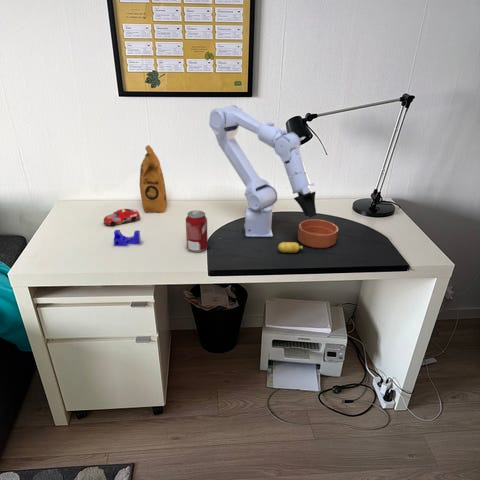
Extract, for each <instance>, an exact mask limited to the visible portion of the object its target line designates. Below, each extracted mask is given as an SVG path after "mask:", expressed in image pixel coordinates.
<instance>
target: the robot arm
mask: <svg viewBox="0 0 480 480" xmlns="http://www.w3.org/2000/svg"><path fill="white" fill-rule="evenodd" d="M208 126H209V127H210V129H211V130H212V131H213V133H214V135H215V138H216V142H217V144H218V146H219V147H220V149H221V150H222V152H223V153H224V155H225V157H226V158H227V159H228V161H229V163H230V165H231V166H232V168H233V169H234V171H235V172H236V174H237V175H238V177H239V178H240V180H241V181H242V183H243V185H244V186H245V187H246V188H245V192H244V196H245V198H246V201H247V205H248V207H246V208H245V213H244V225H243V229H244V235H245V237H247V238H249V237H250V238H273V237H274V234H273V231H272V221H273V208H274V207H275V206H274V205H275V203H277V202H278V199H279V195H278V192H277V190H276V188H275V187H274V186H272V185H271V184H270V183H269V182H268V180H265V179H263V178H261V177H260V176H259V174H258V173H257V171H256V169H255V168H254V166H253V165H252V163H251V162H250V160H249V159H248V157H247V155H246V154H245V152H244V151H243V149H242V148H241V146H240V144H239V143H238V142H237V140H236V135H237V133H238V130H239V128H240V127H241V128H243V129H245V130H247V131H249V132H251V133H253V134H255V135H257V139H258V140H259V141H260V142H262V143H263V144H265V145H267V146H269V147H270V148H273V150H274V152H275V154H276V155H277V156H278V157H279V158H280V160H281V162H282V164H283V166H284V169H285V172H286V175H287V178H288V181H289V184H290V187H291V189H292V194H293V195H294V194H297V196H296V197H294V198H293V200H294V201H296V202H297V204H298V205H299V207H300V209H301V211H302V212H303V214H304V216H305V217H309V218H313V217H316V216H317V208H316V191H311V190H310V188H312V187H313V186H315V182H312V183H311V182H310V178H309V176H308V173H307V170H306V166H305V163H304V161H303V157H302V154H301V151H300V147H301V139H300V137H299V136H298V134H296V133H295V132H293V131H291V132H287V130H285V129H281V128H279V127H277V126H276V125H275V123H274V122H272V121H270V122H267V121H266V122H264V123H262V122H260V121H259V120H257V119H256V118H255V117H252V115H250V114H249V113H247V112H245V111H244V110H243V108H241V107H238V106H237V105H235V104H232V105H229V106H224V107H219V108H217V107H216V108H213V109H212V110H211V111H210V113H209V121H208Z"/></svg>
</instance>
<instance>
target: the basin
mask: <svg viewBox="0 0 480 480" xmlns="http://www.w3.org/2000/svg"><path fill="white" fill-rule="evenodd" d="M297 227H298V230H297V235H296V236H297V237H296V238H297V240H298V241H299V242H300V243H301V244H302V245H304V246H306V247H309V248H313V249H327V248H331V247H332V246H334V245H335V244H336V243H337V237H338V232H339V228H338V226H337V225H336V224H335V223H333V222H331V221H328V220H325V219H324V220H323V219H318V218H315V219H314V218H313V219H306V220H303V221H300V222H299V224H298V226H297Z"/></svg>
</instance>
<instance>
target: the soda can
mask: <svg viewBox="0 0 480 480" xmlns="http://www.w3.org/2000/svg"><path fill="white" fill-rule="evenodd" d="M185 235H186V237H185V239H186V240H185V241H186V248H187V249H188V250H189V251H191V252H195V253H200V252H203V251H205V250H207V248H208V217H207V216H206V212H204V211H202V210H191V211H188V212H187V213H186V217H185Z"/></svg>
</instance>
